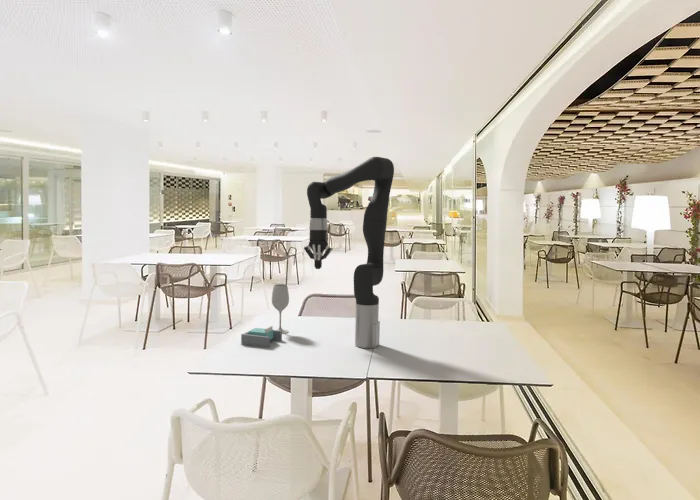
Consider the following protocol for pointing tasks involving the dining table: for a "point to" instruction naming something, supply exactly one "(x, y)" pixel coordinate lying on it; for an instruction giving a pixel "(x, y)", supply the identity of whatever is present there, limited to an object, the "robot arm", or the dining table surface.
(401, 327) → the dining table surface
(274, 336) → the bay
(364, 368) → the dining table surface
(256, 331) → the teal box with handle
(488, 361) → the dining table surface
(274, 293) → the wineglass
